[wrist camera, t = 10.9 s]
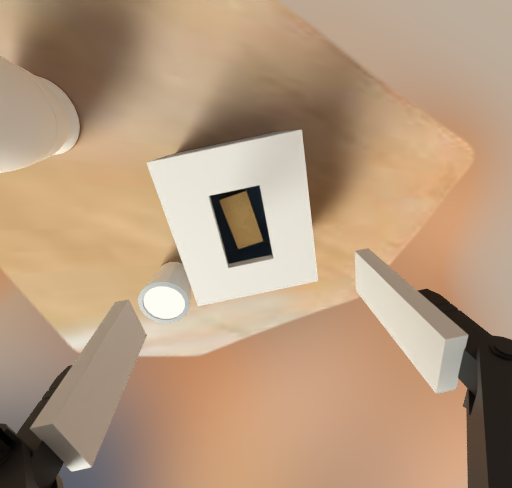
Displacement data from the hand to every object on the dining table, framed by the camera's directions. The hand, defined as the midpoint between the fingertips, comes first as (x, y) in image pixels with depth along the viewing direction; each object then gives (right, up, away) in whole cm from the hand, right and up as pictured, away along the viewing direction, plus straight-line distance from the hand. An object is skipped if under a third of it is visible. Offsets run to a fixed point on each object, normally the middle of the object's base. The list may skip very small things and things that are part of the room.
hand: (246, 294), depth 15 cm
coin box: (-2, +9, +22) cm, 24 cm away
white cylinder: (-13, -2, +26) cm, 29 cm away
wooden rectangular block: (-2, +9, +21) cm, 23 cm away
